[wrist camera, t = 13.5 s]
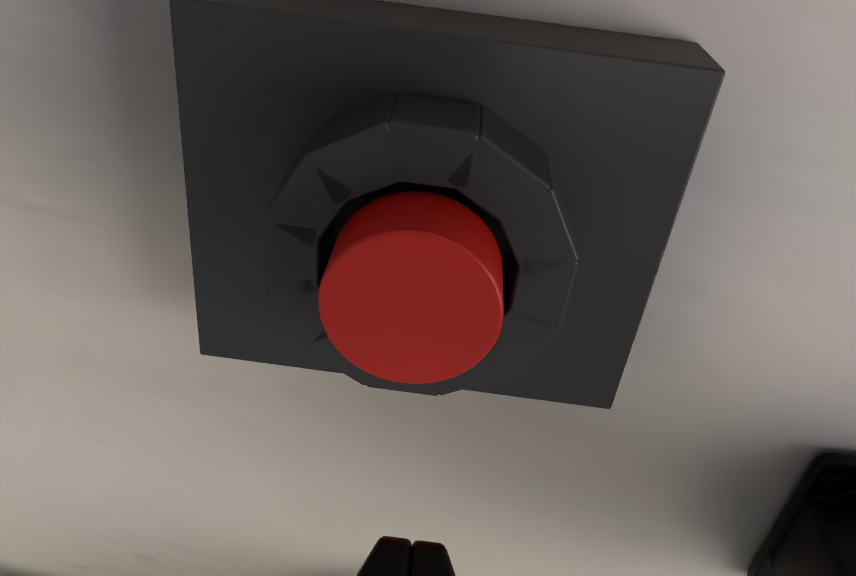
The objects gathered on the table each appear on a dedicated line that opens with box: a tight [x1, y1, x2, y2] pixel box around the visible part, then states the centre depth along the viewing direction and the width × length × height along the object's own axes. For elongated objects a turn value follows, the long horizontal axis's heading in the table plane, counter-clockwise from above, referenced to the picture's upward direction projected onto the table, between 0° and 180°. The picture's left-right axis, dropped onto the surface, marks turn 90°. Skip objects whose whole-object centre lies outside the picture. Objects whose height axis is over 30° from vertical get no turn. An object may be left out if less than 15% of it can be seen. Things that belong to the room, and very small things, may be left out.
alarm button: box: [318, 191, 504, 384], centre depth 14 cm, size 4×4×2 cm
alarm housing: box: [170, 0, 725, 409], centre depth 16 cm, size 11×9×4 cm
